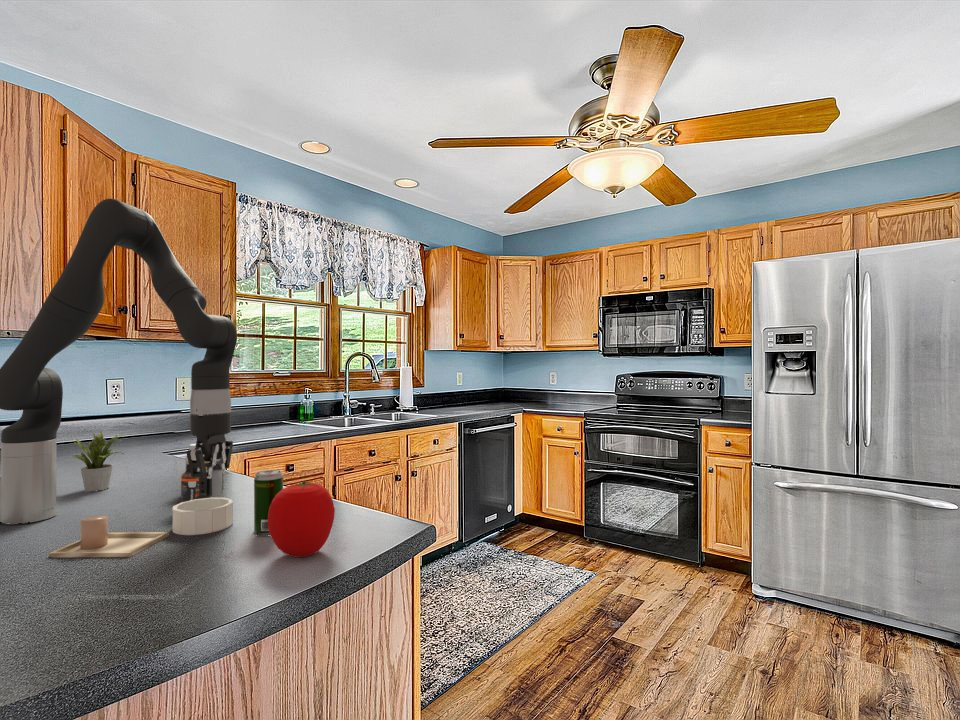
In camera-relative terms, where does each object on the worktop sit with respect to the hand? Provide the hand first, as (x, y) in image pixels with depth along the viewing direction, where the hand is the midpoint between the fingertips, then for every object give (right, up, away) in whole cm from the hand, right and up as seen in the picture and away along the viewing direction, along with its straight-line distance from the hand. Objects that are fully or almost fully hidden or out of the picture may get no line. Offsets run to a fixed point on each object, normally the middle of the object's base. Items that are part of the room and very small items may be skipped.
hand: (211, 494), depth 106 cm
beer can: (+13, -7, -3) cm, 15 cm away
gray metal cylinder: (0, 0, 0) cm, 0 cm away
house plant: (-48, -8, +34) cm, 59 cm away
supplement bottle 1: (-19, -8, +30) cm, 36 cm away
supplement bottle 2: (-10, -7, +12) cm, 17 cm away
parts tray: (-12, -7, -12) cm, 18 cm away
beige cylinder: (-15, -6, -12) cm, 20 cm away
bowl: (-1, -7, 0) cm, 7 cm away
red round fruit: (+24, -7, -15) cm, 29 cm away
